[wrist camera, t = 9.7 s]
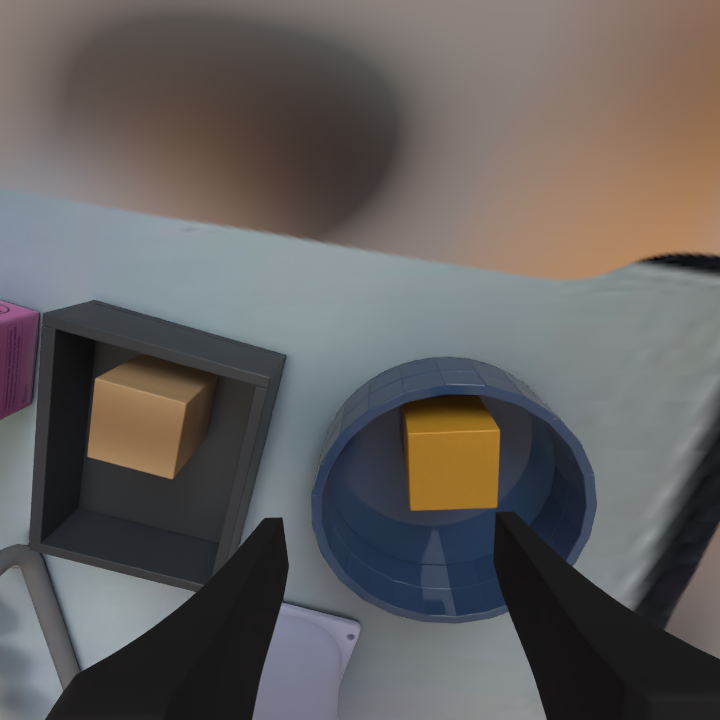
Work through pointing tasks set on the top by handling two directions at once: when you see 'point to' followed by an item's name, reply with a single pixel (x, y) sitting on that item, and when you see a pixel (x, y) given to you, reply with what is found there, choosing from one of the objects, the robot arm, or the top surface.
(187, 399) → the beech block
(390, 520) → the bowl
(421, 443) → the mustard block
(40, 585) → the newton's cradle
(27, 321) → the box
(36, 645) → the top surface
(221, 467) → the bin
